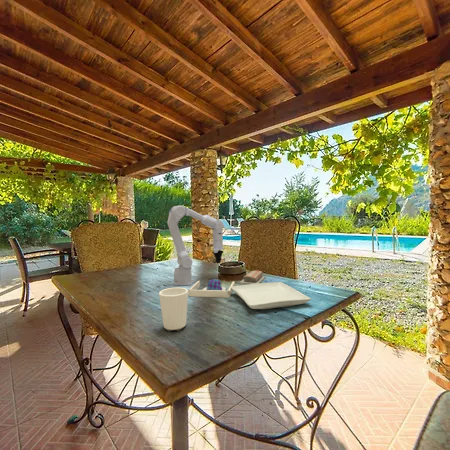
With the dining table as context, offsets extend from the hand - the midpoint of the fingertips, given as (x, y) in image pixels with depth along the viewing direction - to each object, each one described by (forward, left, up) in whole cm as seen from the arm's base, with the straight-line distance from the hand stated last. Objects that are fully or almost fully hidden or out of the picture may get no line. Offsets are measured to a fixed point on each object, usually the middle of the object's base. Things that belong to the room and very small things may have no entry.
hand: (218, 263), depth 155 cm
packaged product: (+21, -3, -10) cm, 23 cm away
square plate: (+29, -35, -10) cm, 47 cm away
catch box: (+2, -25, -9) cm, 27 cm away
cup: (-2, -67, -10) cm, 68 cm away
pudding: (+2, -23, -10) cm, 25 cm away
